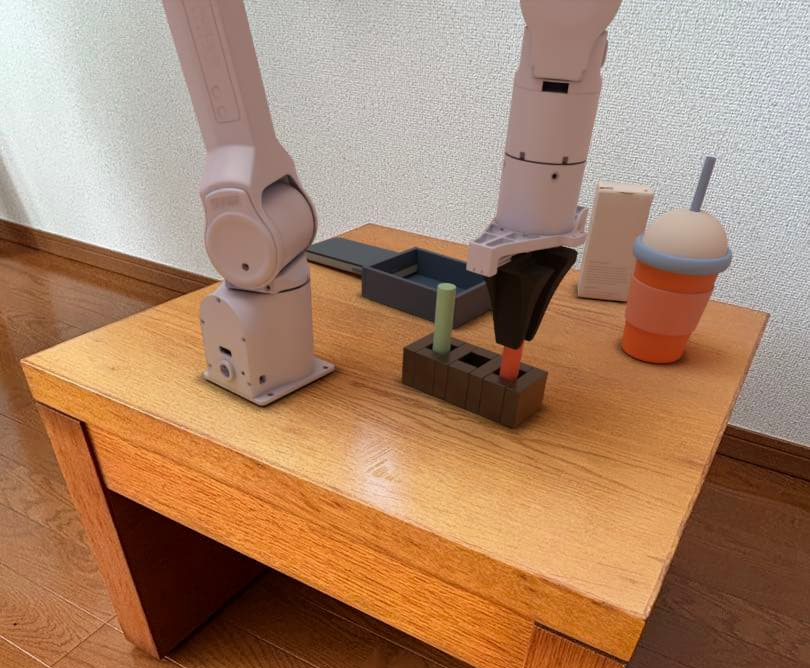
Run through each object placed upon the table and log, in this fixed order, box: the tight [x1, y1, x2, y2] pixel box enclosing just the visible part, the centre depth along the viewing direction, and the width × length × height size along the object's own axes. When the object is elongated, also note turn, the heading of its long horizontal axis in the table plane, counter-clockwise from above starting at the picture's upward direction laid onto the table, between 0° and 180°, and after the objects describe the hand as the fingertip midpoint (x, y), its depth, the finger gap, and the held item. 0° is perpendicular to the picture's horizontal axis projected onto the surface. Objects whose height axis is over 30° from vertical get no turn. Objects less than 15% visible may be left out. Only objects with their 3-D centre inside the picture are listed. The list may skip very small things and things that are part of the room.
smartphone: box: [306, 236, 417, 278], centre depth 84 cm, size 8×2×15 cm
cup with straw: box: [621, 156, 733, 364], centre depth 63 cm, size 9×9×18 cm
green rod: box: [433, 283, 456, 355], centre depth 59 cm, size 2×2×9 cm
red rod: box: [499, 339, 526, 382], centre depth 55 cm, size 2×2×9 cm
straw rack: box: [401, 331, 549, 429], centre depth 59 cm, size 12×5×4 cm, turn 52°
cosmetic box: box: [576, 180, 655, 302], centre depth 77 cm, size 6×4×12 cm
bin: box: [361, 246, 492, 330], centre depth 76 cm, size 13×10×3 cm
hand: (514, 341), depth 54 cm, fingers closed on red rod, 1 cm apart
